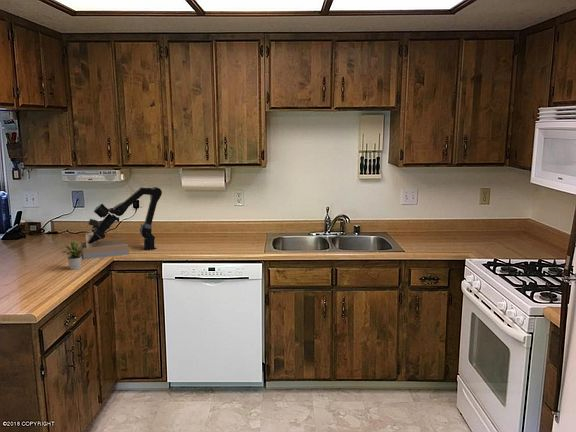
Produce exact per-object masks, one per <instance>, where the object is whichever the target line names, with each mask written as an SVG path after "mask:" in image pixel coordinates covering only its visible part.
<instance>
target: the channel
mask: <svg viewBox="0 0 576 432" xmlns="http://www.w3.org/2000/svg"><path fill="white" fill-rule="evenodd" d="M84 243H85V244H84ZM81 245H82V246H81ZM80 246H81V248H80V249H81V250H80V251H81V256H82V258H83V259H84V260H88V259H95V258H105V257H115V256H126V255H127V256H128V255H129V254H130V253H129V252H130V251H129V244H128V243H125V238H115V239H105V240H104V239H100V240H97V241H96V247H91V248H86V241H81V242H80ZM82 248H84V249H82ZM83 252H85V253H83Z"/></svg>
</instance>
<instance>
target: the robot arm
mask: <svg viewBox="0 0 576 432" xmlns="http://www.w3.org/2000/svg"><path fill="white" fill-rule="evenodd" d="M162 194H163V190H162V189H161V188H159V187H158V186H153V187H139V188H138V190H136V191H135V192H134V193H132V194H131V195H130V196H129V197H128V198H126V199H125V200H124V201H122V202H120V203H118V204H116V205H114V206H113V207H111V208H110V207H109V208H108V207H107V206H105V204H103V203H101V204H99V205H98V206H96V207H95V208H94V210H93V213H94V214H96V215H97V216H98V217H99V218H103V220H101V219H100V220H97V219H94V218H89V221H88V222H87V223H88V225H89V226H91V232H93V236H92V238H91V239H90V241H89V242H88V243H89V244H91V243H93V242H95V241H101V240H104V239H105V238H106V232H107V231H108V230H110V228H111V227H112V225H113V224H114V223H115V222H117V223H120V217H122V216H123V215H124V213H126V211H127V210H128V208H129V207H130V206H132V205H133V204H134V203H136V201H138V200H139V198H141V197H143V196H144V195H146V196H147V195H148V196H149V204H148V208H147V212H146V215H145V220H144V222H143V224H141V223H140V228H139V234H140V235H141V236H142V238H144V239H143V247H142V250H145V251H152V250H155V249H157V247H155V238H156V237H155V236H154V235H153V234H152V229H153V228H152V227H153V226H152V224H153V220H154V216H155V213H156V212H155V211H156V209H157V204H158V202H159V200H160V199H161V197H162Z"/></svg>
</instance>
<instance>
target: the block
mask: <svg viewBox="0 0 576 432" xmlns="http://www.w3.org/2000/svg"><path fill="white" fill-rule="evenodd" d="M92 236H93V232H92V231H90V232H85V242H86V248H91V247H96V241H95V242H93V243H91V244H89V243H88V242H89V241H90V239H91V238H92Z"/></svg>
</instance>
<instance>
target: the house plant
mask: <svg viewBox="0 0 576 432" xmlns="http://www.w3.org/2000/svg"><path fill="white" fill-rule="evenodd" d="M69 242H70V247H71V248H70V247H69V246H68V245H67V244H63V245H62V244H61V243H62V242H60V241H59V243H60V244H61V246H63V247H65V248H67V250H66V251H65V250H64V249H62V251H63V252H62V254H64V253H65V254H66V256H68V255H69V256H68V257H67V261H68V262H67V263H68V266H69V269H70V270H72V271H74V270H80V269H82V268H81V266H82V258H83V255H82V251H81V246H82V245H81V244H80V246H79V248H78V240H76V239H73V240H71V239H70V238H69ZM84 244H85V243H84ZM82 249H84V248H82ZM83 253H85V252H83Z"/></svg>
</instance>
